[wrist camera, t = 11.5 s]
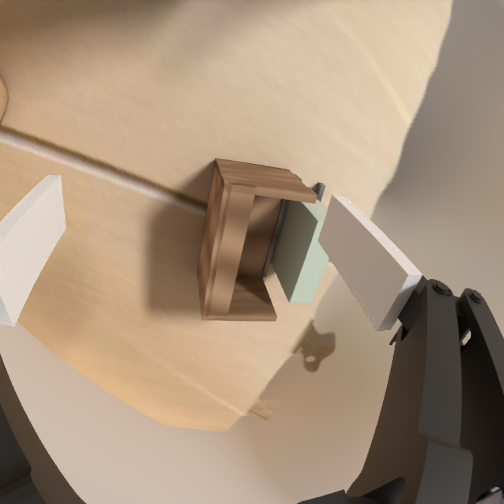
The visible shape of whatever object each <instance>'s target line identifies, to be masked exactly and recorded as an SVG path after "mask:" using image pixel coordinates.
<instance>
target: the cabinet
mask: <svg viewBox="0 0 504 504" xmlns="http://www.w3.org/2000/svg"><path fill="white" fill-rule="evenodd" d="M324 189H325V185H324V184H322V183H318V185H317V189H316V192H314V191H313V190H312V189H311V188H310V187H306V186H305V185H304V184H303V183H302V180H301V179H300V178H299V177H298V176H297V175H296V174H293V173H292V172H290V171H289V170H286V169H281V168H275V167H269V166H263V165H257V164H251V163H244V162H238V161H231V160H223V159H216V160H215V166H214V171H213V177H212V183H211V188H210V194H209V200H208V206H207V212H206V219H205V225H204V231H203V238H202V245H201V252H200V259H199V266H198V273H197V275H198V286H199V296H200V306H201V315H202V320H221V321H276V319H277V315H276V313H275V310H274V307H273V305H272V302H271V299H270V297H269V294H268V292H267V289H266V286H265V284H264V281H263V278H262V277H266V275H267V271H268V268H269V264H270V261H271V257H272V254H273V250H274V247H275V243H276V240H277V236H278V233H279V229H280V226H281V222H282V218H283V215H284V211H285V208H286V204H287V200H294V201H300V202H306V203H313V204H315V203H316V200H317V199H318V200H319V201H320V202H321V199H322V195H323V192H324Z"/></svg>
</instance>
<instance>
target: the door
mask: <svg viewBox="0 0 504 504" xmlns="http://www.w3.org/2000/svg"><path fill="white" fill-rule="evenodd" d="M326 213H327V209H326V208H325V207H324V206H323V204H322V203H321V202H320V201H319V200H318V199H317V200H316V203H315V204H313V203H306V202H300V201H294V200H288V201H287V205H286V209H285V212H284V216H283V219H282V223H281V227H280V230H279V234H278V237H277V241H276V244H275V248H274V251H273V255H272V258H271V263H272V266H273V268H274V270H275V272H276V274H277V277H278V279H279V281H280V283H281V286H282V288H283V290H284V292H285V294H286V297H287V299H288V301H289V303H311V302H312V299H313V297H314V295H315V292H316V290H317V287H318V285H319V282H320V280H321V277H322V275H323V272H324V270H325V267H326V265H327V262H328V260H329V257H328V255H327V254H326V253H325V251H324V250H323V248H322V247H321V245H320V244H319V242H318V238H319V235H320V232H321V229H322V226H323V223H324V220H325V217H326Z"/></svg>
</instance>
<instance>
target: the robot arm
mask: <svg viewBox="0 0 504 504" xmlns="http://www.w3.org/2000/svg"><path fill="white" fill-rule="evenodd" d="M65 229H66V223H65V215H64V206H63V195H62V182H61V175H47V176H46V177H45V178H44V179H43V180H42V181H41V182H40V183H38V184H37V185H36V186H35V187H34V188H33V189H32V190H31V191H30V192H29V193H28V194H27V195H26V196H25V197H24V198H23V199H22V200H21V201H20V202H19V203H18V204H17V205H16V206H15V207H14V208H13V209H12V210H11V211H10V212H9V213H8V214H7V215H6V216H5V217H4V219H3V220H2V221H1V222H0V325H3V326H10V327H14V326H15V324H16V322H17V320H18V317H19V315H20V313H21V311H22V308H23V306H24V304H25V302H26V300H27V298H28V296H29V294H30V292H31V290H32V288H33V286H34V284H35V282H36V280H37V278H38V276H39V274H40V272H41V270H42V268H43V267H44V265H45V263H46V261H47V259H48V258H49V256H50V254H51V252H52V251H53V249H54V247H55V245H56V244H57V242H58V240H59V239H60V237H61V235H62V234H63V232H64V231H65ZM318 242H319V244H320V245H321V247H322V248H323V250H324V251H325V253H326V254H327V255H328V257H329V258H330V260H331V261H332V263H333V264H334V266H335V267H336V269H337V270H338V272H339V273H340V275H341V276H342V277H343V279H344V281H345V282H346V284H347V285H348V287H349V288H350V290H351V292H352V293H353V295H354V296H355V298H356V299H357V301H358V302H359V304H360V306H361V307H362V308H363V310H364V312H365V313H366V315H367V317H368V318H369V320H370V321H371V323H372V325H373V326H374V328H375V330H376V331H383V330H390V329H391V328H392V326H393V325H394V323H395V322H396V320H397V319H398V318H399V320H400V322H401V323H402V325H401V326H400V328H399V329H398V331H397V333H396V334H395V336H394V337H393V339H392V340H391V342H390V344H389V345H392V344H393V342H395V341H396V345H395V350H394V355H393V360H392V366H391V370H390V375H389V380H388V384H387V388H386V393H385V397H384V401H383V405H382V409H381V412H380V416H379V420H378V423H377V427H376V430H375V433H374V437H373V440H372V443H371V446H370V449H369V452H368V455H367V458H366V461H365V464H364V467H363V469H362V471H361V473H360V475H359V476H358V478H357V479H356V480H355V481H354V482H353V483H352V485H351V486H350V488H349V490H348V491H347V493H346V494H345V491H344V490H341V491H338V492H334V493H331V494H328V495H324V496H321V497H317V498H313V499H310V500H306V501H302V502H300V503H297V504H504V338H503V336H502V334H501V332H500V330H499V327H498V325H497V323H496V321H495V319H494V317H493V315H492V313H491V311H490V309H489V307H488V305H487V303H486V301H485V300H484V298H483V297H482V296H481V294H480V293H478V292H477V291H476V290H472V289H468V288H467V289H465V290H464V291H463V293H462V295H461V297H456V296H454V295H453V293H452V291H451V290H450V289H449V288H448V287H447V286H446V285H445V284H443V283H442V282H440V281H437V280H434V279H430V280H427V279H426V278H425V277H424V276H423V275H422V273H421V272H420V271H419V270H418V269H417V268H416V267H415V266H414V265H413V264H412V263H411V261H410V260H409V259H408V258H407V257H406V256H405V255H404V254H403V253H402V252H401V251H400V250H399V249H398V248H397V247H396V246H395V245H394V244H393V243H392V242H391V241H390V239H388V237H386V235H385V234H383V232H382V231H381V230H380V229H379V228H378V227H376V225H374V223H372V222H371V221H370V220H369V219H368V218H367V217H366V216H365V215H364V214H363V213H362V212H361V211H360V210H359V209H358V208H357V207H356V206H355V205H354V204H353V203H351V202H350V201H349V200H348V199H347V198H346V197H345V196H339V195H332V197H331V200H330V204H329V207H328V210H327V213H326V217H325V220H324V223H323V226H322V229H321V232H320V235H319V238H318ZM469 331H471V338H470V339H469V340H468V342H467V343H466V344H465V345H463V342H462V340H463V339H464V338H465V337H466V335H467V334H468V332H469ZM0 504H86V503H85V502H84V501H83V500H82V499H81V498H80V497H79V496H78V495H77V494H76V492H75V491H74V490H73V489H72V487H71V486H70V485H69V483H68V482H67V480H66V479H65V478H64V476H63V475H62V473H61V472H60V471H59V469H58V467H57V466H56V465H55V463H54V462H53V460H52V458H51V457H50V455H49V454H48V452H47V450H46V449H45V448H44V445H43V444H42V442H41V440H40V439H39V437H38V435H37V433H36V432H35V430H34V428H33V426H32V424H31V422H30V421H29V419H28V417H27V415H26V413H25V411H24V409H23V407H22V405H21V403H20V401H19V399H18V396H17V394H16V392H15V390H14V387H13V385H12V383H11V380H10V378H9V376H8V373H7V371H6V368H5V366H4V363H3V360H2V357H1V355H0Z"/></svg>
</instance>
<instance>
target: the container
mask: <svg viewBox="0 0 504 504" xmlns="http://www.w3.org/2000/svg"><path fill="white" fill-rule="evenodd" d="M7 103H8V90H7V89H6V88H5V86H4V84H3V81H2V79H1V77H0V121H1V120H2V118H3V115H4V113H5V111H6V106H7Z"/></svg>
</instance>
